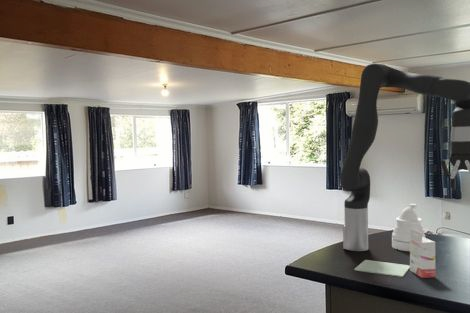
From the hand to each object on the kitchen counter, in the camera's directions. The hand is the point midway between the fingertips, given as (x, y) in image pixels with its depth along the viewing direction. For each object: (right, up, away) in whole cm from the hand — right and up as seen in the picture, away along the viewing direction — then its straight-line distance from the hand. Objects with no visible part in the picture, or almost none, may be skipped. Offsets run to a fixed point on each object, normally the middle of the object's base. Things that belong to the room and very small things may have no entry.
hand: (463, 189), depth 151 cm
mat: (-26, -28, +4) cm, 38 cm away
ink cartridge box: (-15, -28, -3) cm, 32 cm away
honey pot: (-6, -26, +32) cm, 42 cm away
